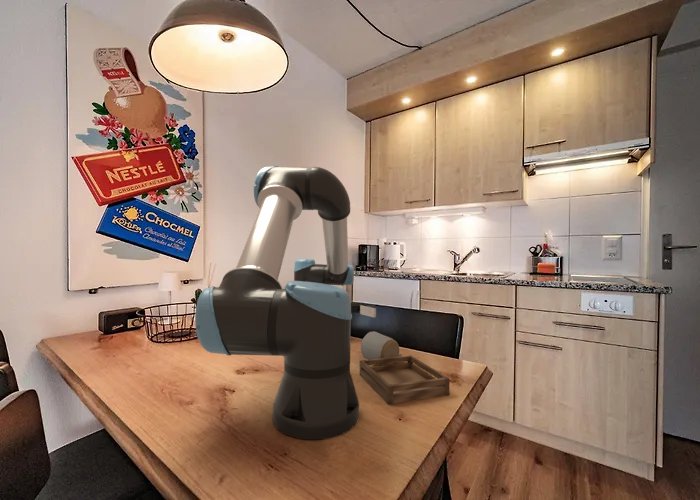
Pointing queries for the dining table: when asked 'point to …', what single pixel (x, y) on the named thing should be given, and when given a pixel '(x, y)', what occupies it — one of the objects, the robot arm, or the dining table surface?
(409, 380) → the walnut crate
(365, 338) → the ceramic mug
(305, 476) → the dining table surface
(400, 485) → the dining table surface
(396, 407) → the dining table surface
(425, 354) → the dining table surface
